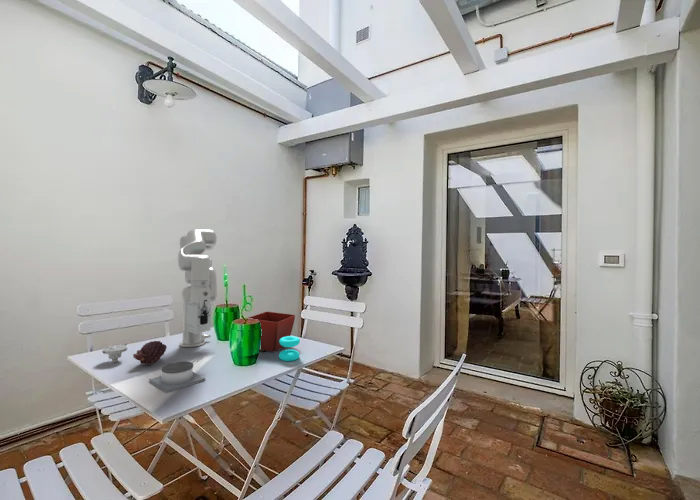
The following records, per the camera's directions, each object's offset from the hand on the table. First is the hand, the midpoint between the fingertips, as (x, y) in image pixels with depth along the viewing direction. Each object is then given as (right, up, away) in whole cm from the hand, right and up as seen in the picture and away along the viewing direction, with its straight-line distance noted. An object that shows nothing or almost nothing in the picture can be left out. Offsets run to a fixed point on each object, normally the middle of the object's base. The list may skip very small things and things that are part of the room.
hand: (199, 322), depth 152 cm
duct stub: (-1, -20, -17) cm, 26 cm away
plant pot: (+26, -20, +29) cm, 44 cm away
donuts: (+38, -21, +13) cm, 46 cm away
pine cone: (-22, -19, +1) cm, 29 cm away
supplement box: (0, -4, 0) cm, 4 cm away
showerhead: (-39, -19, +2) cm, 43 cm away
